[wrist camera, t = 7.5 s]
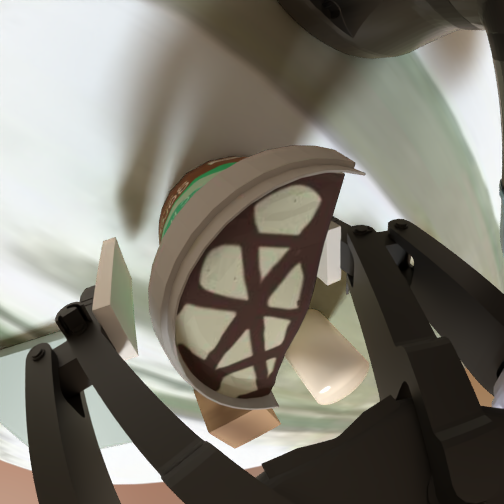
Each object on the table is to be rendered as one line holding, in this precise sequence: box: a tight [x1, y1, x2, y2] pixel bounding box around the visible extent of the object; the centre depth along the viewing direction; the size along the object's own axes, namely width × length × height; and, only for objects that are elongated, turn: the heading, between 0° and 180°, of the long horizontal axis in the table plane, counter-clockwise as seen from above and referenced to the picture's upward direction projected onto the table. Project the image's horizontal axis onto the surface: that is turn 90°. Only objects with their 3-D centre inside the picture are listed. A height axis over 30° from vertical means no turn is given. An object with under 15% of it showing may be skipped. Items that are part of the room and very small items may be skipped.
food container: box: [148, 145, 366, 410], centre depth 14 cm, size 12×6×10 cm, turn 166°
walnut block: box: [194, 390, 281, 448], centre depth 24 cm, size 5×5×5 cm
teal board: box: [0, 331, 132, 449], centre depth 19 cm, size 15×15×1 cm
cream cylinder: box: [285, 309, 369, 405], centre depth 23 cm, size 5×5×7 cm
